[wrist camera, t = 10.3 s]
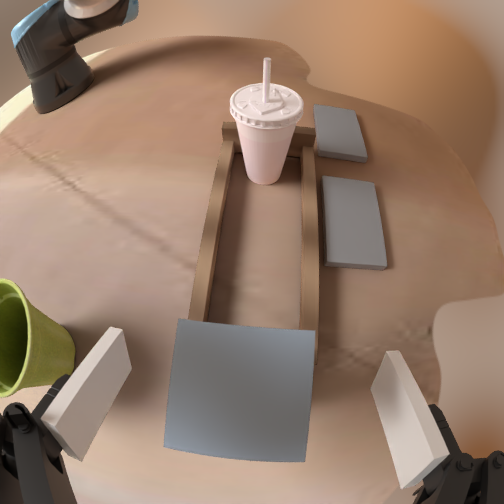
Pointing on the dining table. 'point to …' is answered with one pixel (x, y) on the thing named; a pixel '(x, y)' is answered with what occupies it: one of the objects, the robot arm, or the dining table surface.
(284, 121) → the smoothie
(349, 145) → the broken strip
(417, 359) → the dining table surface
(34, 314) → the plant pot
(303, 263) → the sled
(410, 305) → the dining table surface
